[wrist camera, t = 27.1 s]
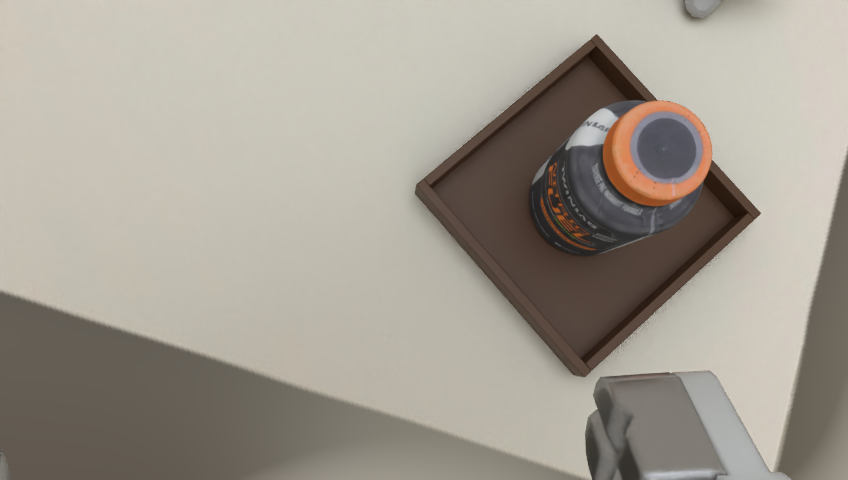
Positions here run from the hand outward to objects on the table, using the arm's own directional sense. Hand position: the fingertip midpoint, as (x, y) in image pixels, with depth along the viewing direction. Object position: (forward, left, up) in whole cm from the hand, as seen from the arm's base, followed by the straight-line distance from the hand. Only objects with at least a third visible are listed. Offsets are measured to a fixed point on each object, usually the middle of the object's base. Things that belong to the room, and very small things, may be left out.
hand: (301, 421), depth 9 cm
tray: (+15, -2, -27) cm, 31 cm away
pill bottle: (+15, -1, -27) cm, 31 cm away
